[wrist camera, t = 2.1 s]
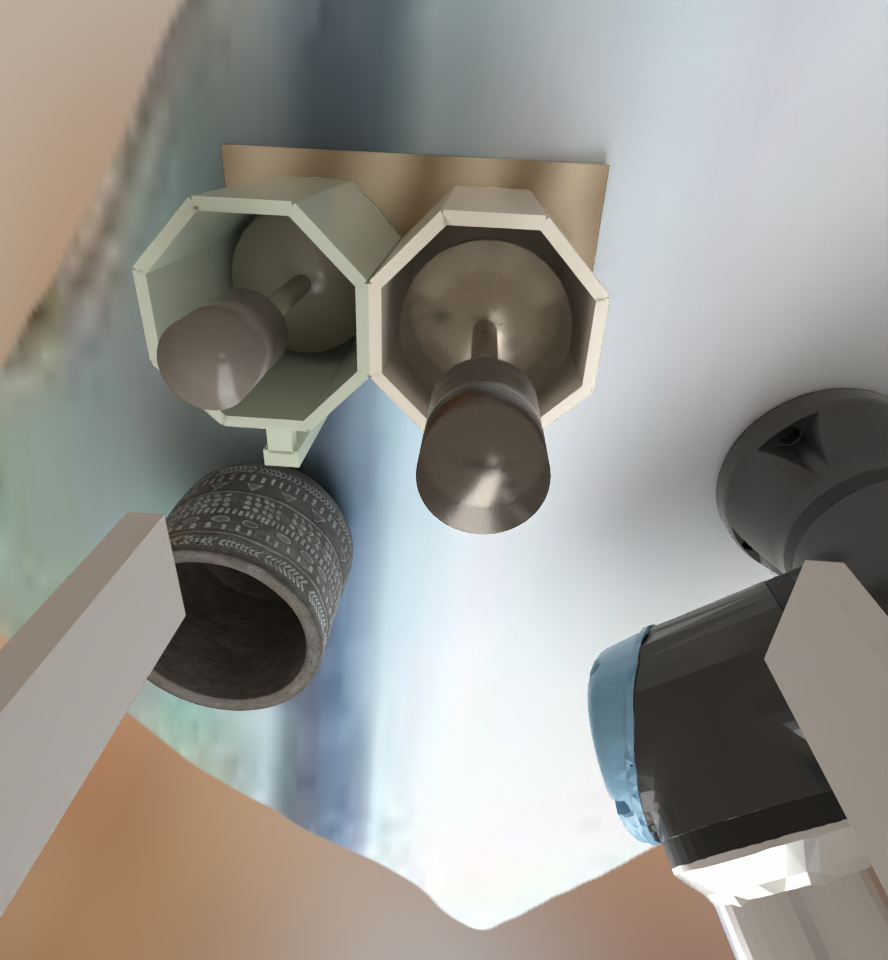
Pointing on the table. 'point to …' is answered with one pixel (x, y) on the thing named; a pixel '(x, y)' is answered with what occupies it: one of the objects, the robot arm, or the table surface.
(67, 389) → the table surface
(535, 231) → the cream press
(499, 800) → the table surface
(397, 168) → the board
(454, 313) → the press plunger
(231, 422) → the sage press
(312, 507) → the planter
